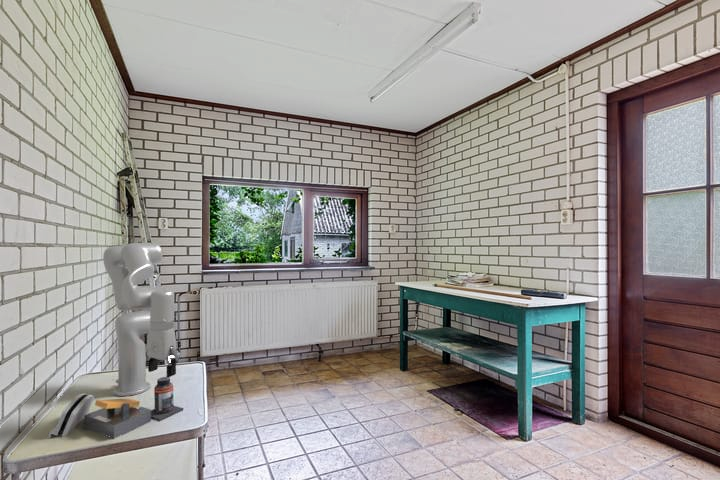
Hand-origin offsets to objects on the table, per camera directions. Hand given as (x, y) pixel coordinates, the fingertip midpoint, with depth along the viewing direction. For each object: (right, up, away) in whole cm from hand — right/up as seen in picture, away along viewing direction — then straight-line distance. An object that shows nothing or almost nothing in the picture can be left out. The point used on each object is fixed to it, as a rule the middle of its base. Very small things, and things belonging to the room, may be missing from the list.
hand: (162, 373), depth 132 cm
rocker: (-10, -7, -9) cm, 15 cm away
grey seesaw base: (-10, -14, -9) cm, 19 cm away
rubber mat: (+1, -14, -1) cm, 14 cm away
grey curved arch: (-25, -14, -8) cm, 30 cm away
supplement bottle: (+1, -13, 0) cm, 13 cm away
